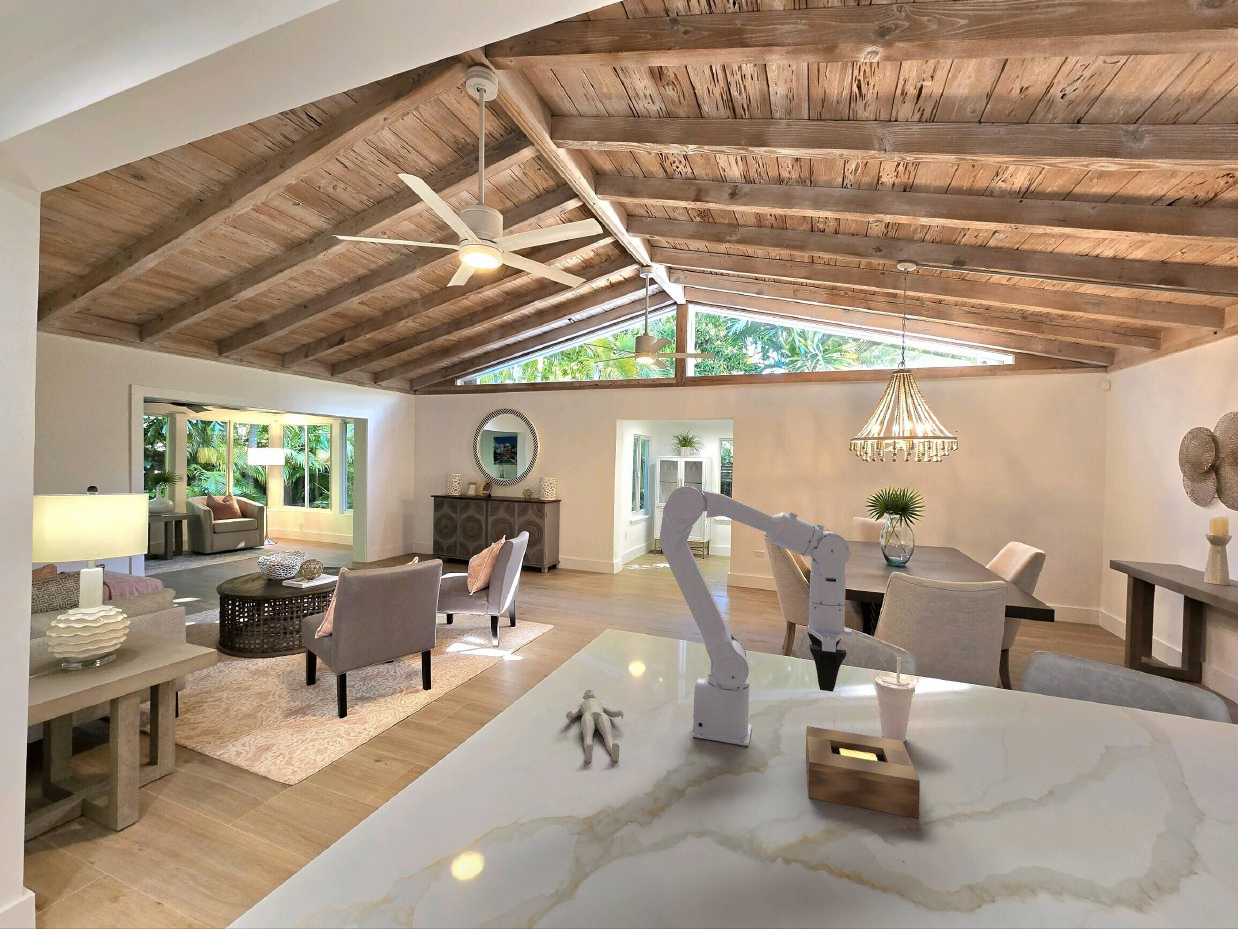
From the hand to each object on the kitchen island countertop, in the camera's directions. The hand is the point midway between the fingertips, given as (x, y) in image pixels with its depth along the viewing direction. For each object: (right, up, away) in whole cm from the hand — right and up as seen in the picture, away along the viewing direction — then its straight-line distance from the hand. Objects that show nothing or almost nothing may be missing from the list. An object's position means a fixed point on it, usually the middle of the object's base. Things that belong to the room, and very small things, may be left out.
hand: (824, 682), depth 95 cm
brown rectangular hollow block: (0, -10, -13) cm, 16 cm away
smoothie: (+13, -11, +3) cm, 17 cm away
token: (0, -10, -13) cm, 16 cm away
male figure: (-39, -10, +2) cm, 41 cm away
